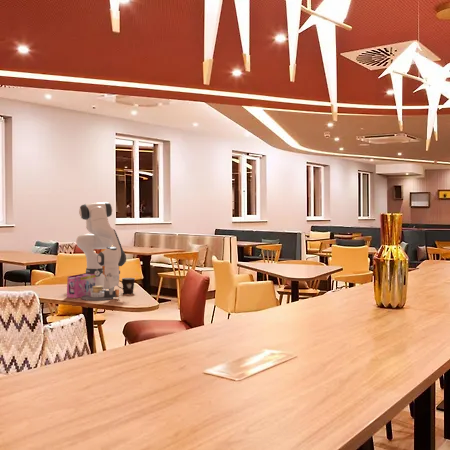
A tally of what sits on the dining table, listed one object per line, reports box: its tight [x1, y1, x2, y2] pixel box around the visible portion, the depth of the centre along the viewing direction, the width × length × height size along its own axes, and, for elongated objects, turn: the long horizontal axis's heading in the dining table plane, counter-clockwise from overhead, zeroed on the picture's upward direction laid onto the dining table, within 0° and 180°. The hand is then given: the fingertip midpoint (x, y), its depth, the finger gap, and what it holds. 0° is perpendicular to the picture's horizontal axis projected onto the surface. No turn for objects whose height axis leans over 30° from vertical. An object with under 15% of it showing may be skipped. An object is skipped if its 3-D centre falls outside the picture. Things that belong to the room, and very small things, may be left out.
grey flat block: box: [88, 288, 120, 298], centre depth 360 cm, size 20×11×5 cm, turn 80°
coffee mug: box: [116, 277, 136, 295], centre depth 384 cm, size 12×9×10 cm
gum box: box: [66, 272, 95, 299], centre depth 371 cm, size 24×8×14 cm, turn 162°
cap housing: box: [80, 286, 115, 302], centre depth 361 cm, size 20×20×8 cm
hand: (111, 294), depth 356 cm, fingers closed
